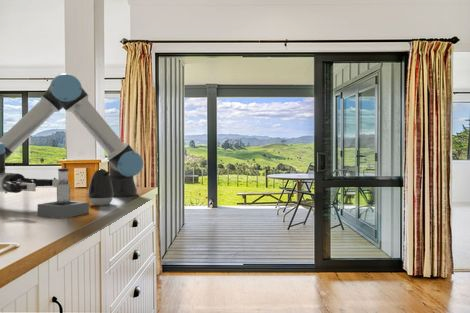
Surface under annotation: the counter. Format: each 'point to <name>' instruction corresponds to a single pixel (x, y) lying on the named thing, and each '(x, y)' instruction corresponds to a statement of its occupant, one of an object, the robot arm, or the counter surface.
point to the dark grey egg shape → (100, 188)
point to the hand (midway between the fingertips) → (50, 185)
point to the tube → (63, 187)
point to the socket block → (63, 209)
